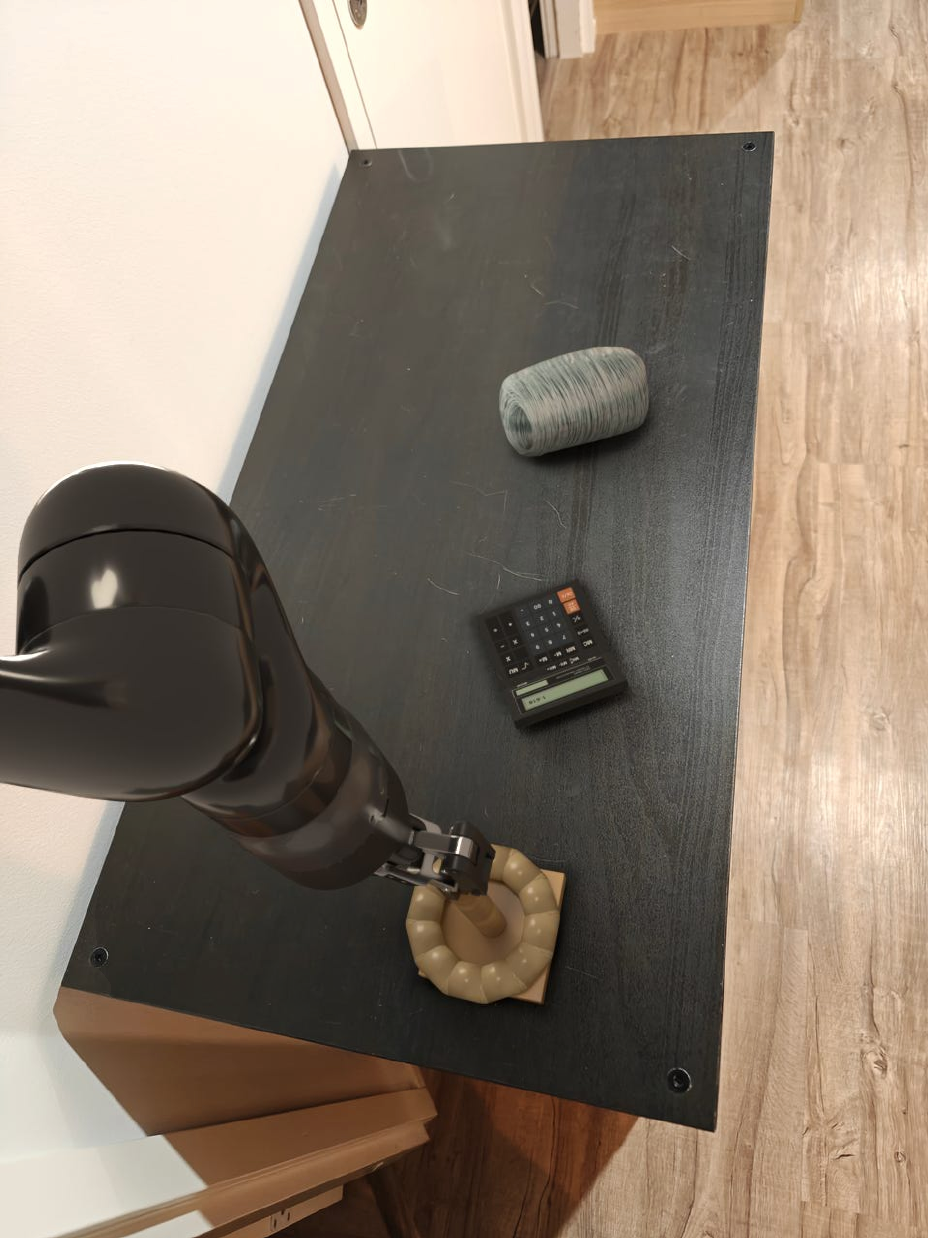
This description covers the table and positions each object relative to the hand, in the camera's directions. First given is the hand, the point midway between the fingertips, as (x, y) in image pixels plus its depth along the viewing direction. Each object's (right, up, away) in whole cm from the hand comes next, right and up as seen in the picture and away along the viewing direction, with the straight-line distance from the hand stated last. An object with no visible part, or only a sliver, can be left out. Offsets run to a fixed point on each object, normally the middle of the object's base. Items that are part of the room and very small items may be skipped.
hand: (391, 869), depth 58 cm
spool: (+15, +33, +32) cm, 48 cm away
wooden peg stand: (+7, -7, +12) cm, 15 cm away
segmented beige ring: (+6, -6, +9) cm, 13 cm away
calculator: (+12, +12, +21) cm, 27 cm away
